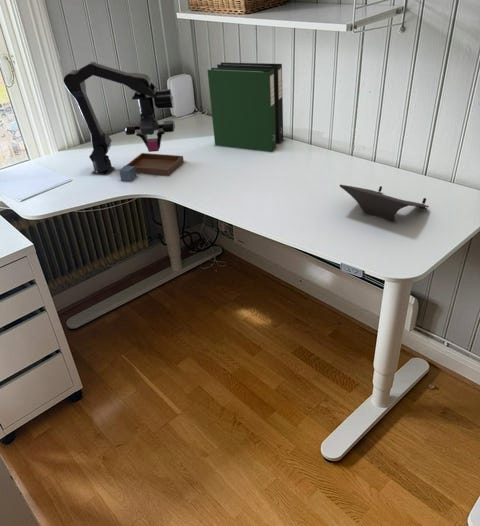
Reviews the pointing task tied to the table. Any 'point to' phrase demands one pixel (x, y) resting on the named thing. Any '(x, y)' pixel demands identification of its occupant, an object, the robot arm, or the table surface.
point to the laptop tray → (379, 202)
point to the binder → (247, 105)
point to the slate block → (128, 173)
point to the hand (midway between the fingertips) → (153, 148)
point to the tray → (156, 163)
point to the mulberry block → (152, 145)
